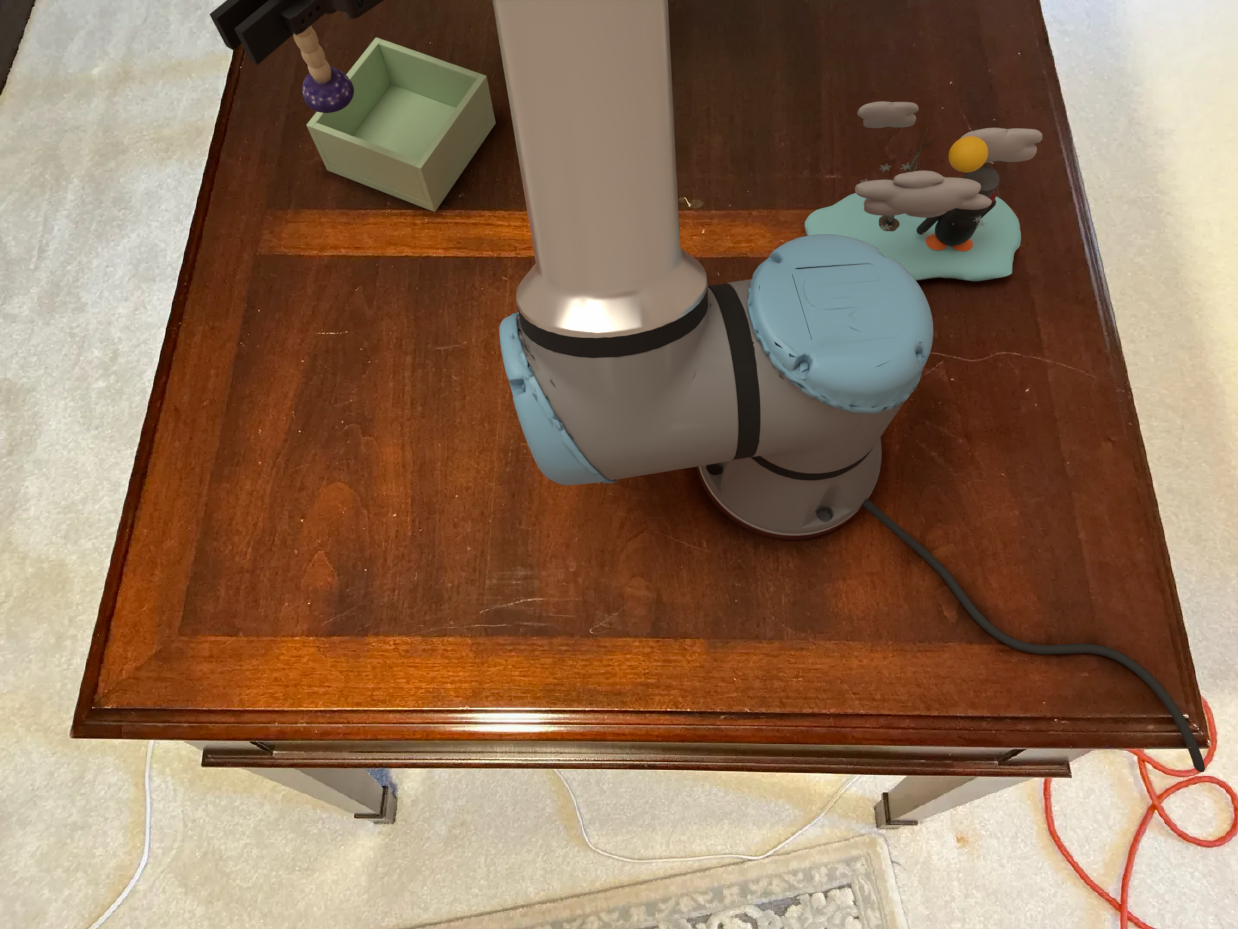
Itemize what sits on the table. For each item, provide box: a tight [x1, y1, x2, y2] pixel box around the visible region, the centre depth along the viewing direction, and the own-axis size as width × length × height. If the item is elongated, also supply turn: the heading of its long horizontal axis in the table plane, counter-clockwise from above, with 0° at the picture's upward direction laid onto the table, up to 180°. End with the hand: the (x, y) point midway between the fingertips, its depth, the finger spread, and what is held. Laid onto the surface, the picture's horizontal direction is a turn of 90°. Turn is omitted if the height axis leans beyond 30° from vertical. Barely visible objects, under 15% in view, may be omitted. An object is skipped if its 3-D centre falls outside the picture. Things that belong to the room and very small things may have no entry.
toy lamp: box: [292, 24, 354, 113], centre depth 64 cm, size 5×5×17 cm
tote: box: [306, 37, 497, 213], centre depth 83 cm, size 12×12×6 cm
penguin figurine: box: [804, 100, 1043, 282], centre depth 73 cm, size 20×11×15 cm, turn 90°
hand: (234, 39), depth 61 cm, fingers closed on toy lamp, 2 cm apart
